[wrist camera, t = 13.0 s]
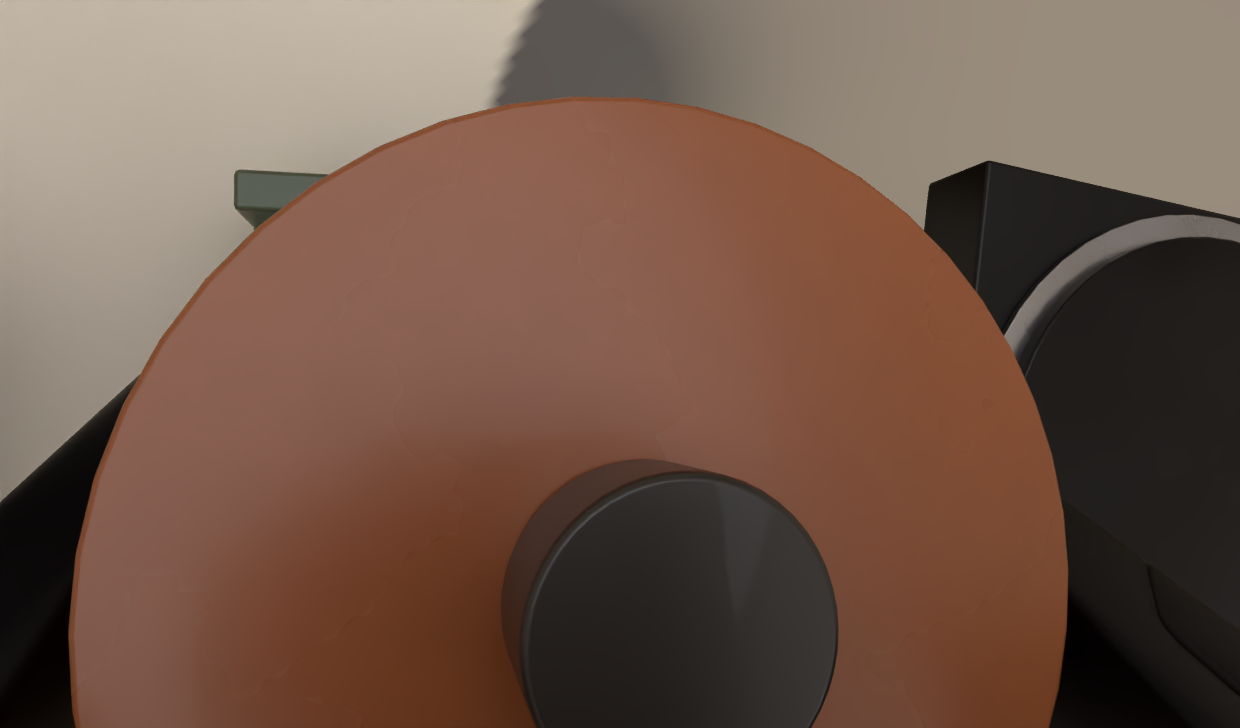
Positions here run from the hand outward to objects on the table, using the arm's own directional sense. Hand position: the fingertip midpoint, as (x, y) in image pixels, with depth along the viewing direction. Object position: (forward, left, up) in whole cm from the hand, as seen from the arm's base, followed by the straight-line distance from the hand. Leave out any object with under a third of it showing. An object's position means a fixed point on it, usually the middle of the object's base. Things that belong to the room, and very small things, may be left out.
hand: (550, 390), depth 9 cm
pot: (-1, 0, -5) cm, 5 cm away
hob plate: (0, -14, -5) cm, 15 cm away
